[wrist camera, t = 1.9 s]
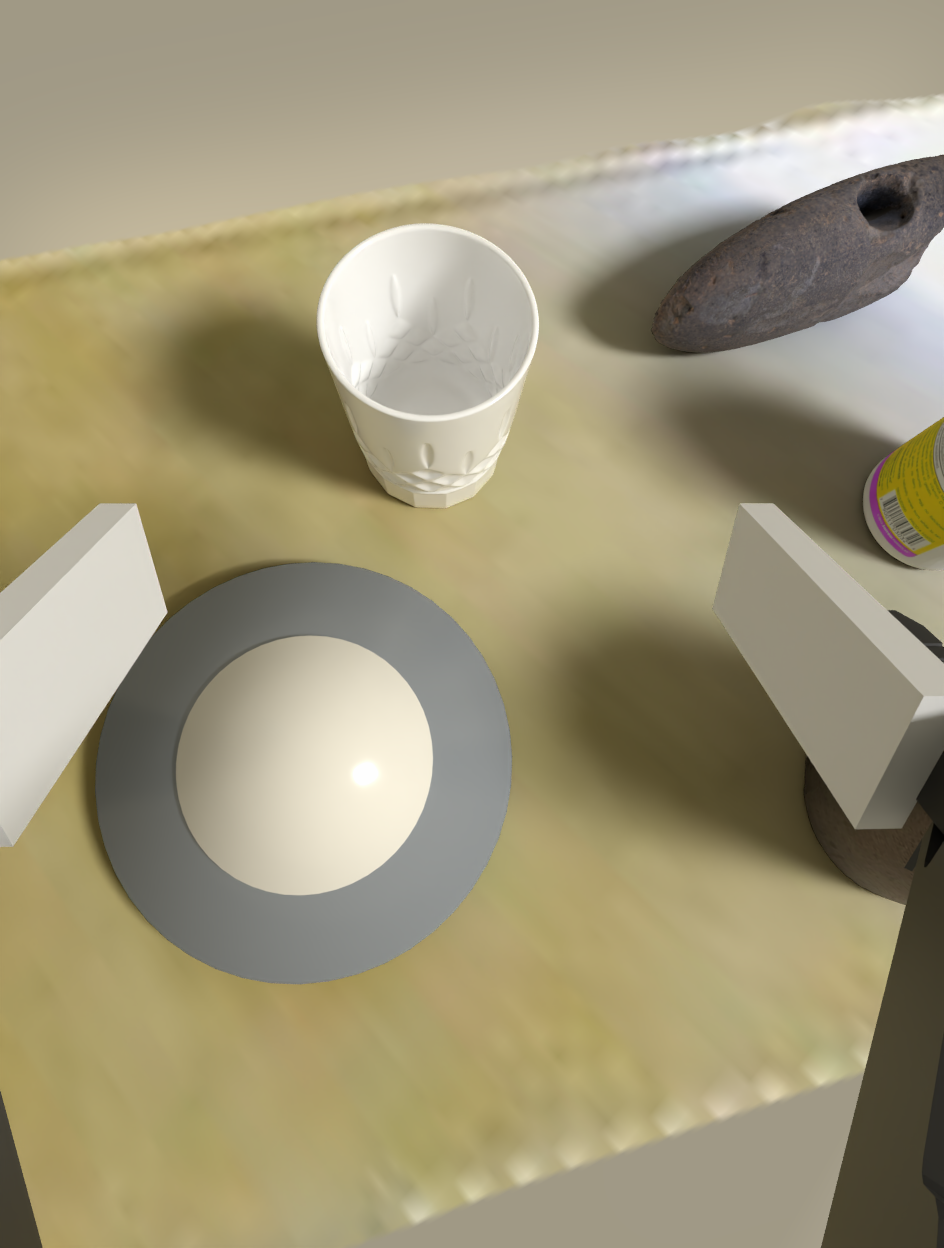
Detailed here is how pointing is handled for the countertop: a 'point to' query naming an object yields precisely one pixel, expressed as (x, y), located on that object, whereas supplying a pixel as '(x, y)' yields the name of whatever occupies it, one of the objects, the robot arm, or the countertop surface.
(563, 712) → the countertop surface
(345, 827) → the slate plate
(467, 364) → the white cup
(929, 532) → the supplement bottle
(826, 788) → the pillar candle
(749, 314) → the perforated stone tool
